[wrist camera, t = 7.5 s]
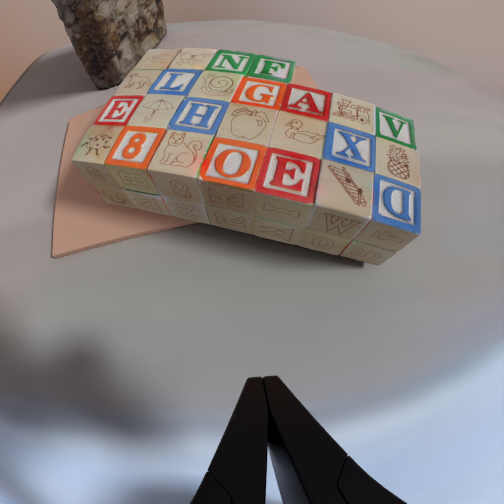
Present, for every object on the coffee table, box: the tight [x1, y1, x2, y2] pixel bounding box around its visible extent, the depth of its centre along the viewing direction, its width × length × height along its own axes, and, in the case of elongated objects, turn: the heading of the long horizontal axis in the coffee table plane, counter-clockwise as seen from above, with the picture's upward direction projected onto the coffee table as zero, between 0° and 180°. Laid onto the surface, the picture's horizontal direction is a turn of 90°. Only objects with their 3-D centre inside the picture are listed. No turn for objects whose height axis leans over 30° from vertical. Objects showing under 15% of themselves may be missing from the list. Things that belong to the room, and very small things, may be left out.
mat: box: [52, 66, 318, 258], centre depth 23 cm, size 16×26×1 cm, turn 103°
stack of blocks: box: [71, 48, 421, 265], centre depth 19 cm, size 21×6×12 cm
